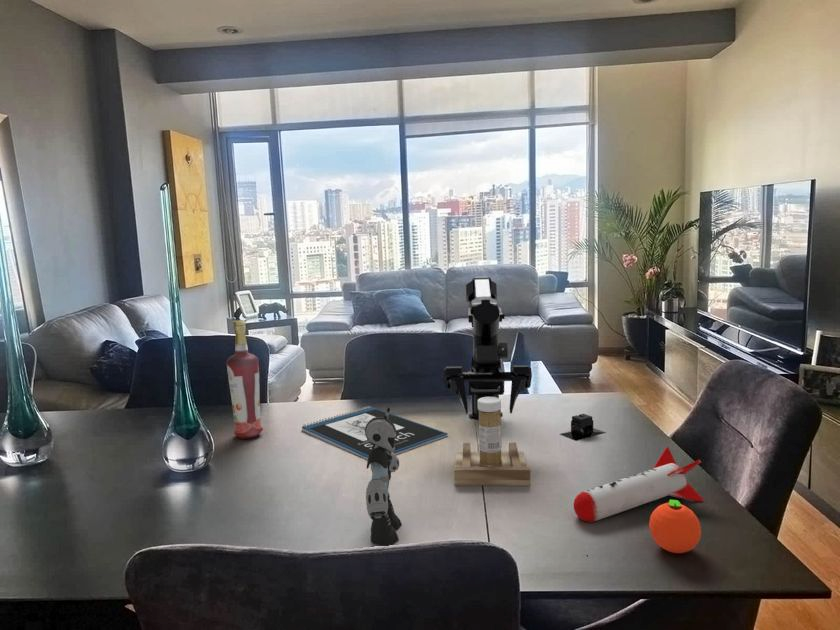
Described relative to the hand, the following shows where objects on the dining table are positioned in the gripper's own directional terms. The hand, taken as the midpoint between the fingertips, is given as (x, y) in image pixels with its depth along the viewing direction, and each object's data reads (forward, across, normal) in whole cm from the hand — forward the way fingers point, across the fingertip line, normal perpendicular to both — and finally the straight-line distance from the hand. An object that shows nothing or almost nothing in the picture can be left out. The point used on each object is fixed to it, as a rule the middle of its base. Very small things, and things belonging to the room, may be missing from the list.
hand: (488, 412), depth 122 cm
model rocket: (+23, +23, -10) cm, 34 cm away
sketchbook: (-3, -28, +17) cm, 33 cm away
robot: (+29, -18, -16) cm, 38 cm away
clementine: (+32, +26, -19) cm, 45 cm away
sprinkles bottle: (+11, 0, 0) cm, 11 cm away
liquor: (-2, -57, +16) cm, 59 cm away
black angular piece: (-2, +22, +16) cm, 27 cm away
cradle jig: (+12, 0, +1) cm, 12 cm away
